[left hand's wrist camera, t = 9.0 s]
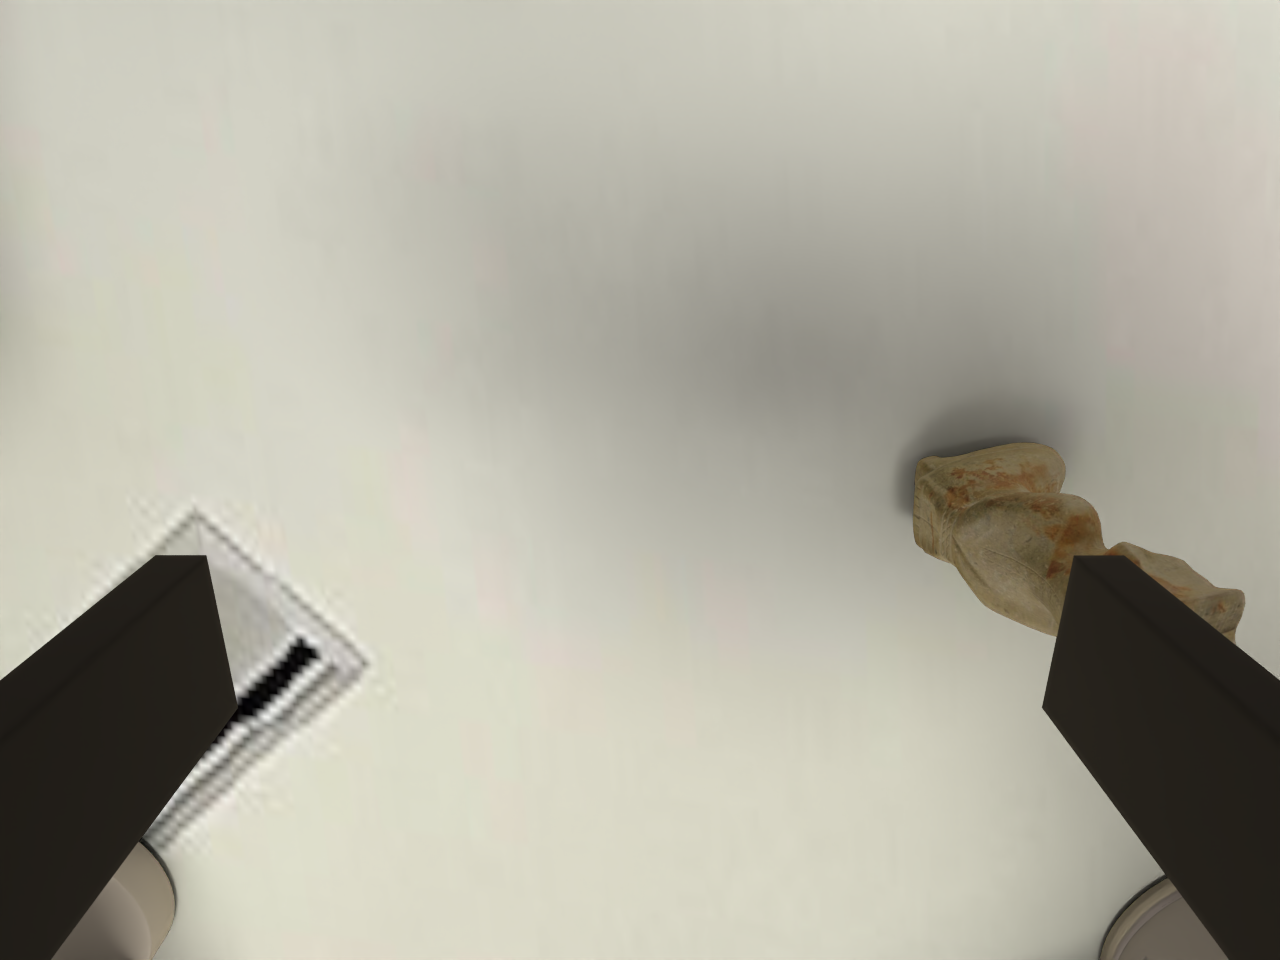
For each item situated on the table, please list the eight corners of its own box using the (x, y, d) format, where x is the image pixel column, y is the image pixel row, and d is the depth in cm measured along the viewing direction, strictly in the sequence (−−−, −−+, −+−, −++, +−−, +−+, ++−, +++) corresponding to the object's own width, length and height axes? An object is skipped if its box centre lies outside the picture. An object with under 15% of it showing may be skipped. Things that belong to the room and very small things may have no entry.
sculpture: (1037, 536, 41) (1244, 727, 27) (891, 541, 41) (1021, 734, 27) (1054, 423, 39) (1286, 566, 25) (900, 428, 39) (1045, 574, 25)
